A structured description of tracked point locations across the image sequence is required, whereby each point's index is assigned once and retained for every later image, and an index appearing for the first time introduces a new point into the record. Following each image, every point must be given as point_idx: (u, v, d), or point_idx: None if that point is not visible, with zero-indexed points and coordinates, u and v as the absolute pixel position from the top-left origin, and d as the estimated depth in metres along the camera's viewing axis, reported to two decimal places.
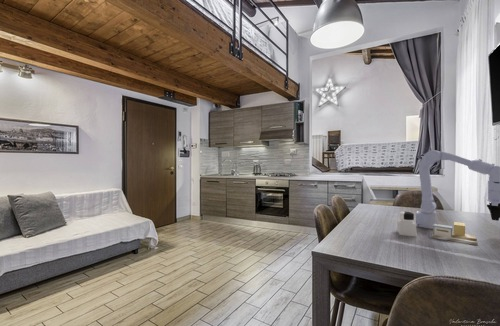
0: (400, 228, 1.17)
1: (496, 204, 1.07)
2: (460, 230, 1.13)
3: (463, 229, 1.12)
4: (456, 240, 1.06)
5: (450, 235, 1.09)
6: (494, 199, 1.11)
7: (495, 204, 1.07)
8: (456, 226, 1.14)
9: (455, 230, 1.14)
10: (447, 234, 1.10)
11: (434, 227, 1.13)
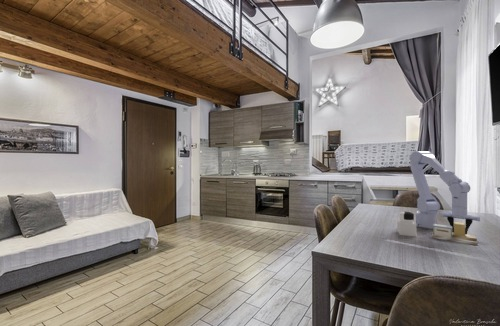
0: (400, 228, 1.17)
1: None
2: (460, 230, 1.13)
3: (463, 229, 1.12)
4: (456, 240, 1.06)
5: (450, 235, 1.09)
6: (452, 212, 1.18)
7: (441, 215, 1.20)
8: (456, 226, 1.14)
9: (455, 230, 1.14)
10: (447, 234, 1.10)
11: (434, 227, 1.13)
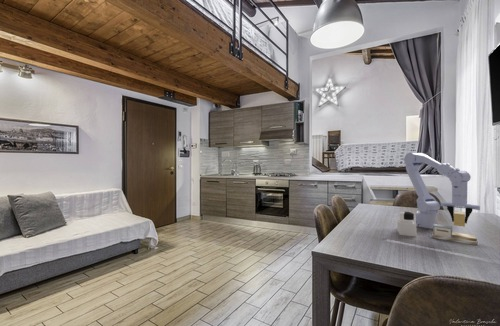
0: (400, 228, 1.17)
1: None
2: (460, 219, 1.13)
3: (463, 218, 1.12)
4: (456, 240, 1.06)
5: (450, 235, 1.09)
6: (452, 202, 1.18)
7: (441, 205, 1.20)
8: (456, 215, 1.14)
9: (455, 219, 1.14)
10: (447, 234, 1.10)
11: (434, 227, 1.13)
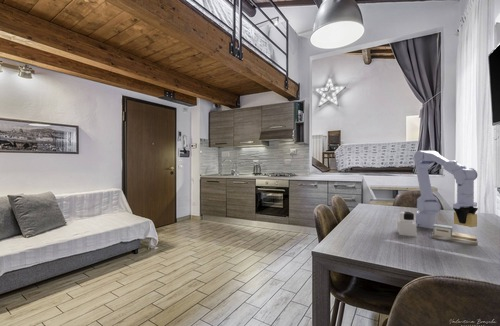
0: (400, 228, 1.17)
1: (457, 207, 1.06)
2: (475, 220, 1.06)
3: (476, 218, 1.06)
4: (456, 240, 1.06)
5: (450, 235, 1.09)
6: (460, 202, 1.08)
7: (456, 207, 1.06)
8: (473, 216, 1.05)
9: (472, 221, 1.05)
10: (447, 234, 1.10)
11: (434, 227, 1.13)
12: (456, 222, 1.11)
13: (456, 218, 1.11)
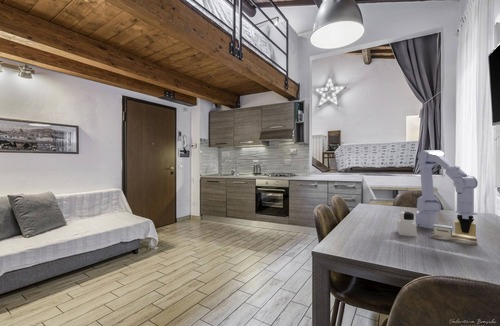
0: (400, 228, 1.17)
1: (467, 217, 1.01)
2: (475, 228, 1.05)
3: None
4: (456, 240, 1.06)
5: (450, 235, 1.09)
6: (464, 211, 1.05)
7: (466, 217, 1.02)
8: (475, 225, 1.04)
9: (475, 230, 1.04)
10: (447, 234, 1.10)
11: (434, 227, 1.13)
12: (458, 232, 1.07)
13: (458, 228, 1.07)
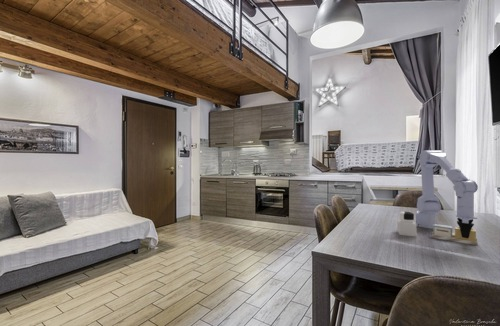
0: (400, 228, 1.17)
1: (467, 221, 1.01)
2: (475, 235, 1.05)
3: None
4: (456, 240, 1.06)
5: (450, 235, 1.09)
6: (464, 215, 1.05)
7: (466, 222, 1.02)
8: (475, 232, 1.04)
9: (475, 237, 1.04)
10: (447, 234, 1.10)
11: (434, 227, 1.13)
12: None
13: (458, 234, 1.07)
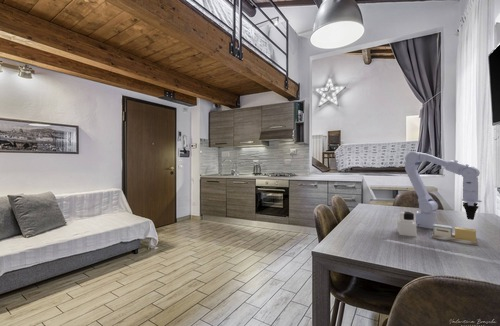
0: (400, 228, 1.17)
1: (472, 204, 1.10)
2: (475, 235, 1.05)
3: None
4: (456, 240, 1.06)
5: (450, 235, 1.09)
6: (469, 199, 1.14)
7: (471, 204, 1.11)
8: (475, 232, 1.04)
9: (475, 237, 1.04)
10: (447, 234, 1.10)
11: (434, 227, 1.13)
12: None
13: (458, 234, 1.07)
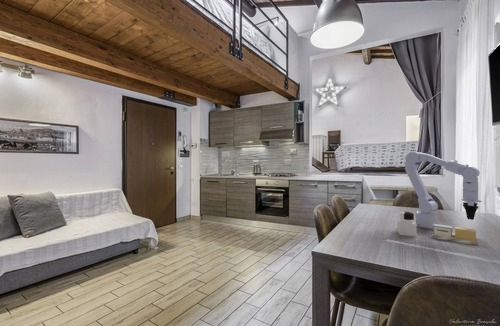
0: (400, 228, 1.17)
1: (472, 204, 1.10)
2: (475, 235, 1.05)
3: None
4: (456, 240, 1.06)
5: (450, 235, 1.09)
6: (469, 199, 1.14)
7: (471, 204, 1.11)
8: (475, 232, 1.04)
9: (475, 237, 1.04)
10: (447, 234, 1.10)
11: (434, 227, 1.13)
12: None
13: (458, 234, 1.07)
